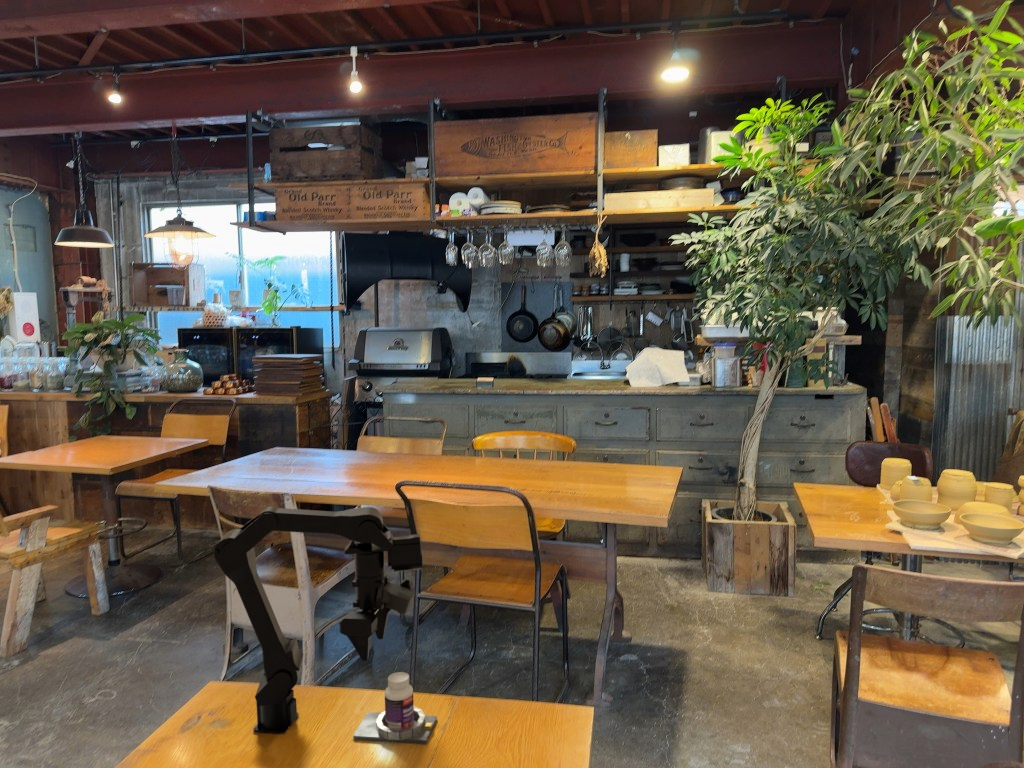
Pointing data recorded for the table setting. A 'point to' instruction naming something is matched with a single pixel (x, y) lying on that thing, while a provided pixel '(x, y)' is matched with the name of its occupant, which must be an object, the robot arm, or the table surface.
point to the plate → (369, 730)
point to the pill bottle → (399, 702)
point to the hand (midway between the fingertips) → (373, 649)
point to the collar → (402, 733)
